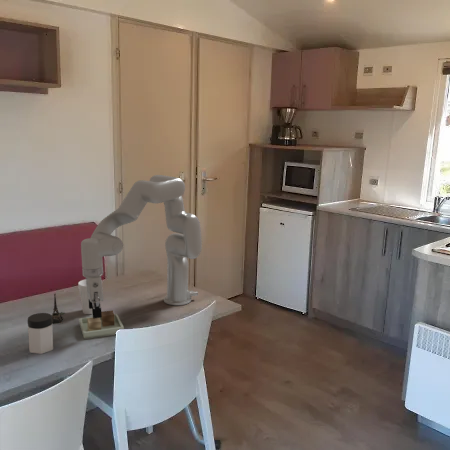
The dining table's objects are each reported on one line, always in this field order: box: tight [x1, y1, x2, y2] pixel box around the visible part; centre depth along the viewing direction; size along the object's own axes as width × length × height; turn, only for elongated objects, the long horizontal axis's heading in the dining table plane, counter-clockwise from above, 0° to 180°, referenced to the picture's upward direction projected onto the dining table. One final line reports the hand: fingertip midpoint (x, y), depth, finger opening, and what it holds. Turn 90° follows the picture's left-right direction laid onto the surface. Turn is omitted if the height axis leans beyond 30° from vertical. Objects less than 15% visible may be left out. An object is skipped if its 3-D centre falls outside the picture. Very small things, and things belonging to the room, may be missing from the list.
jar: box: [27, 312, 54, 355], centre depth 171 cm, size 9×8×12 cm
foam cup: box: [77, 278, 93, 315], centre depth 205 cm, size 10×9×13 cm
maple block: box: [86, 317, 101, 331], centre depth 185 cm, size 4×4×4 cm
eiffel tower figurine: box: [51, 293, 66, 325], centre depth 194 cm, size 15×10×13 cm
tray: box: [78, 313, 125, 340], centre depth 189 cm, size 15×14×3 cm
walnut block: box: [101, 310, 115, 327], centre depth 192 cm, size 4×4×4 cm
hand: (95, 312), depth 186 cm, fingers open, 9 cm apart
